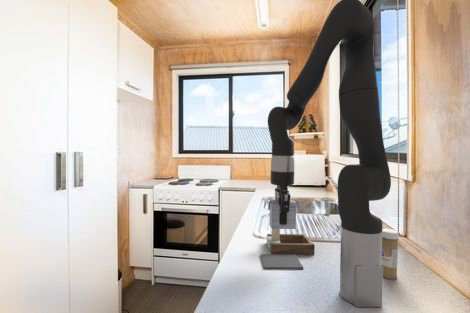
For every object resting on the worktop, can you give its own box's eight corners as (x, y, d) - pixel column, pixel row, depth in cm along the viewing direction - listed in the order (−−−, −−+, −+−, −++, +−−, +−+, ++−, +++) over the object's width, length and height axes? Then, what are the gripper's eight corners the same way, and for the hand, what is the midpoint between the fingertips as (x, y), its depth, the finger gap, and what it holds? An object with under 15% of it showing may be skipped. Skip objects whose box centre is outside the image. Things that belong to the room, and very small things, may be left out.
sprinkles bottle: (375, 273, 78) (377, 228, 77) (386, 271, 79) (387, 227, 79) (390, 280, 73) (391, 233, 73) (401, 278, 75) (402, 231, 75)
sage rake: (281, 251, 94) (281, 221, 93) (269, 251, 93) (269, 221, 93) (277, 244, 101) (278, 216, 100) (266, 244, 100) (267, 216, 100)
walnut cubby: (314, 254, 92) (314, 244, 91) (271, 254, 91) (271, 244, 91) (305, 243, 103) (305, 234, 103) (267, 242, 103) (267, 233, 103)
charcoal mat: (303, 269, 80) (303, 267, 80) (264, 269, 80) (264, 267, 80) (295, 255, 90) (295, 254, 90) (260, 255, 90) (260, 254, 90)
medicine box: (292, 225, 87) (293, 199, 87) (296, 229, 83) (296, 202, 82) (269, 225, 87) (269, 199, 87) (271, 229, 82) (271, 202, 82)
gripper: (299, 171, 77) (298, 229, 78) (289, 168, 91) (288, 216, 92) (274, 171, 77) (273, 228, 78) (267, 168, 91) (267, 216, 92)
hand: (281, 221), depth 85 cm, fingers closed on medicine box, 4 cm apart
